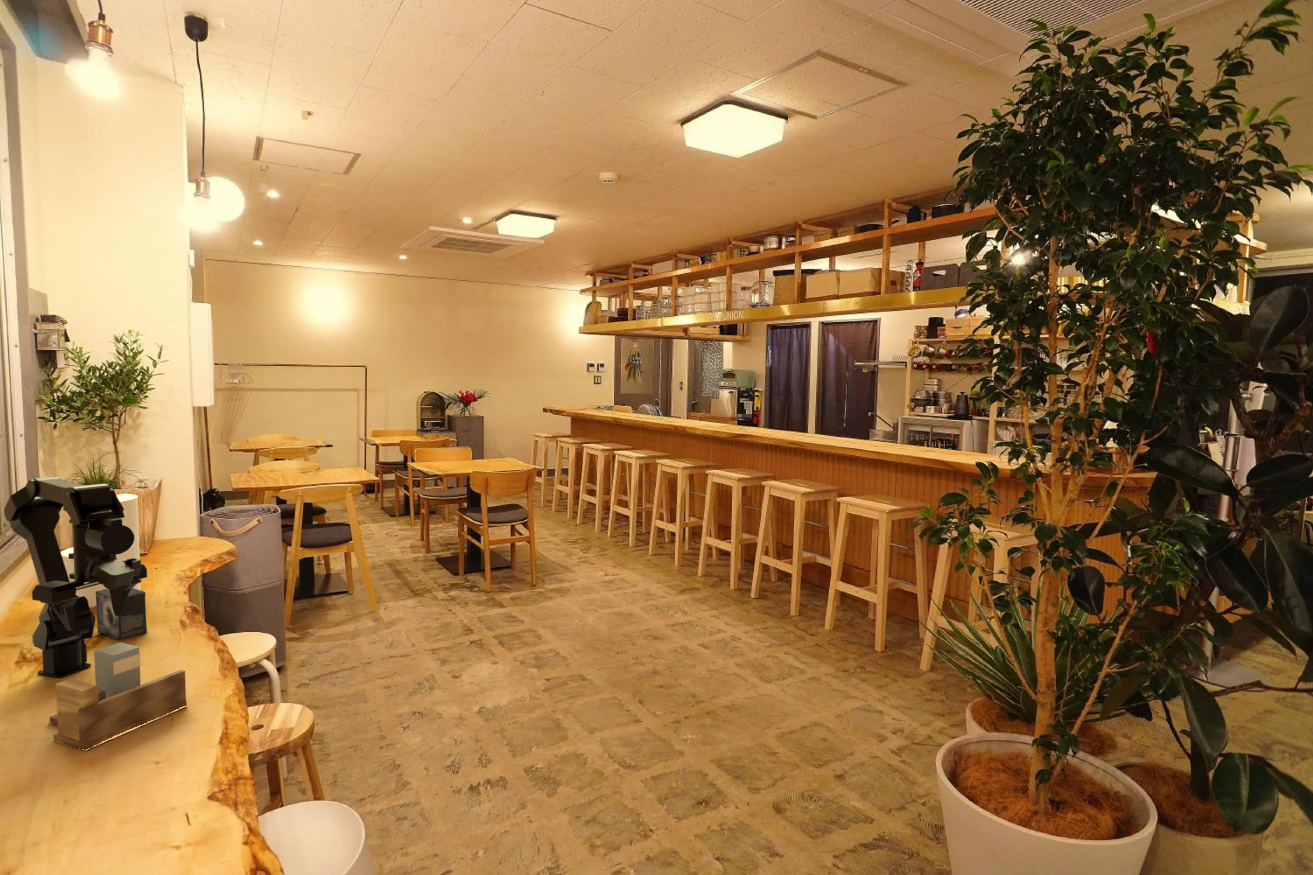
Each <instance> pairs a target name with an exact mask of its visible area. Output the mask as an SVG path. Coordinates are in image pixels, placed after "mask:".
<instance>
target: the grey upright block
mask: <svg viewBox="0 0 1313 875" xmlns="http://www.w3.org/2000/svg"><path fill="white" fill-rule="evenodd" d="M93 653H94V654H93V657H94V679H95V680H94V681H95V685H98V688H99V689H103V690H105V694H106V698H108V697H111V696H113V695H116V694H119V693H121V692H124V691H127V690H129V689H132V688H134V687H137V686H140V685H142V683H141V666H142V665H141V664H142V663H141V662H142V661H141V659H142V658H141V653H140V647H139V646H136V645H133V644H128V643H124V642H121V641H120V642H117V643H113V644H111V645H108V646H104V647H100V648H98V649H95V650H94V652H93Z"/></svg>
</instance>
